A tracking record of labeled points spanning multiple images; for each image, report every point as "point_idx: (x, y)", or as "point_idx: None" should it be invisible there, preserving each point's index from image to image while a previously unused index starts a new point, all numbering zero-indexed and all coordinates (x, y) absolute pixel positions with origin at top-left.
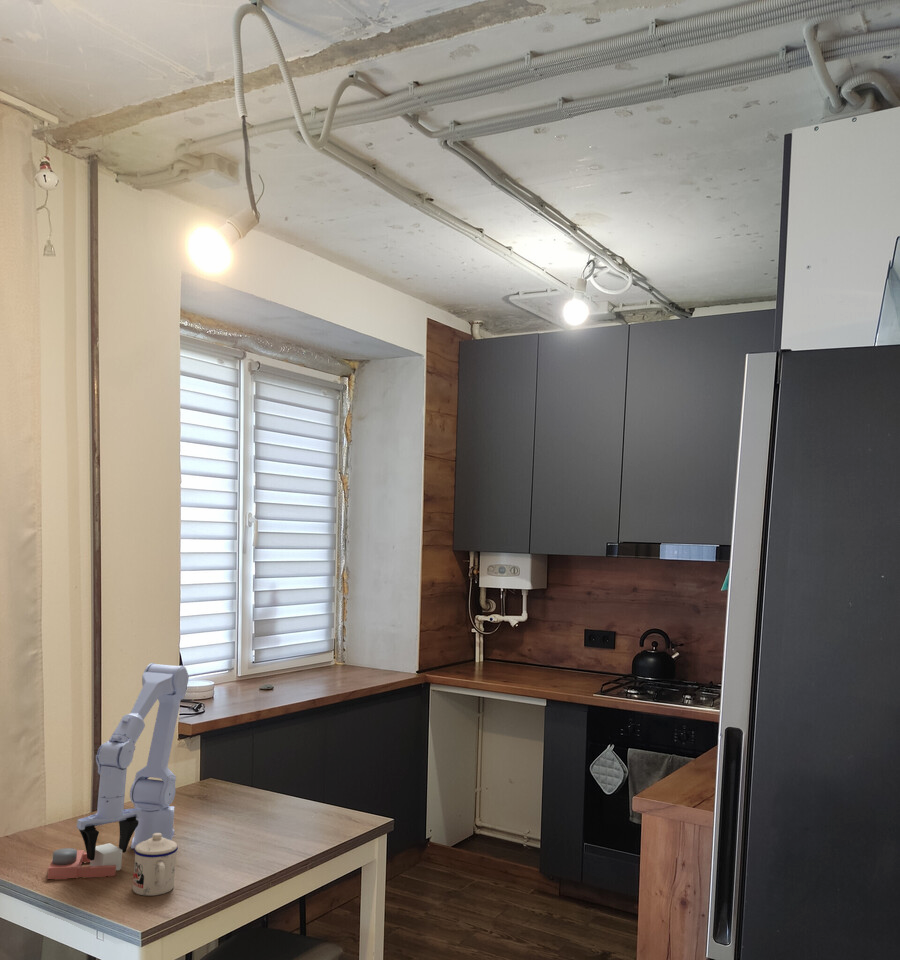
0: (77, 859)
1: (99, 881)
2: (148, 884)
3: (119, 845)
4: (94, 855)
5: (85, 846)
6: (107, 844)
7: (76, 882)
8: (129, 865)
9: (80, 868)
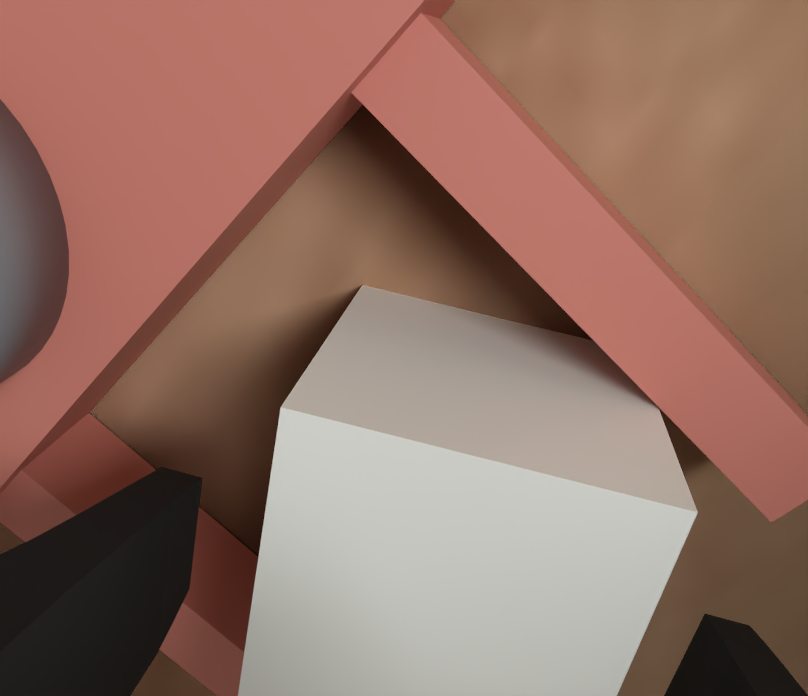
0: (76, 326)
1: (179, 671)
2: None
3: (728, 683)
4: (147, 654)
5: (9, 553)
6: (598, 535)
7: (4, 528)
8: (694, 627)
9: (15, 533)
